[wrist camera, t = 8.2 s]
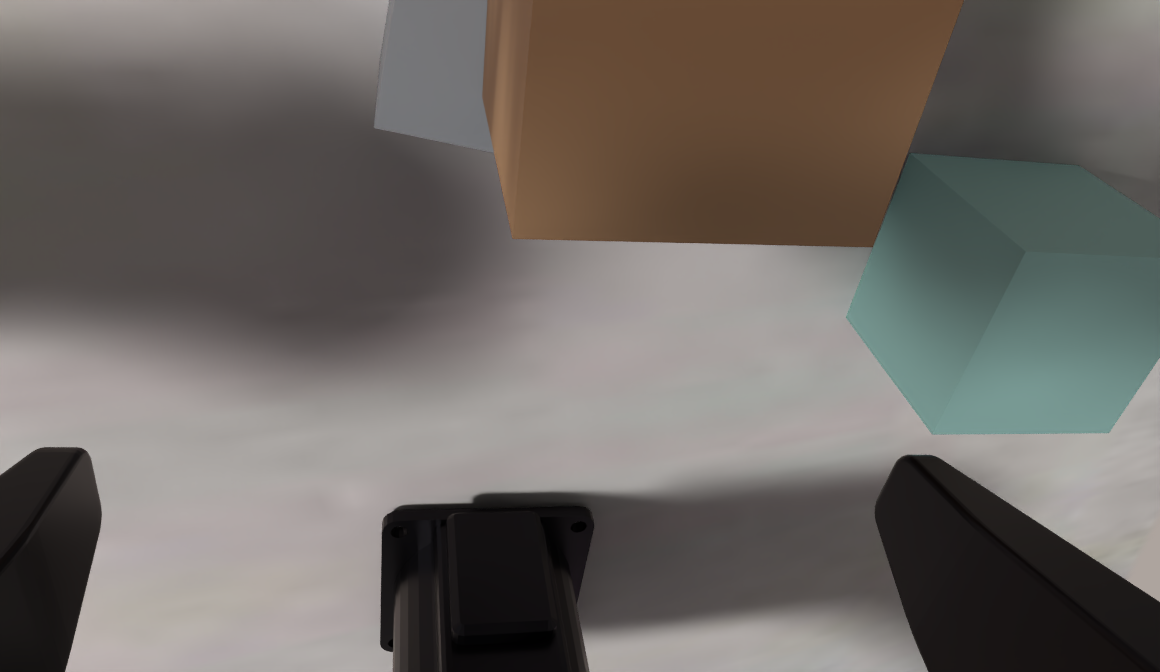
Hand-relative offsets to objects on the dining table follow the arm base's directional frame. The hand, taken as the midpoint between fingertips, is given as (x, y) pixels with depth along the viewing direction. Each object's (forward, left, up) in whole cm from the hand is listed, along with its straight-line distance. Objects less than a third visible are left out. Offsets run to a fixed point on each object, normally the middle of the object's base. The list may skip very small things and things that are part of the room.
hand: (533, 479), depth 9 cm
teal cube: (-3, -13, -11) cm, 18 cm away
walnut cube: (+4, -2, -8) cm, 9 cm away
